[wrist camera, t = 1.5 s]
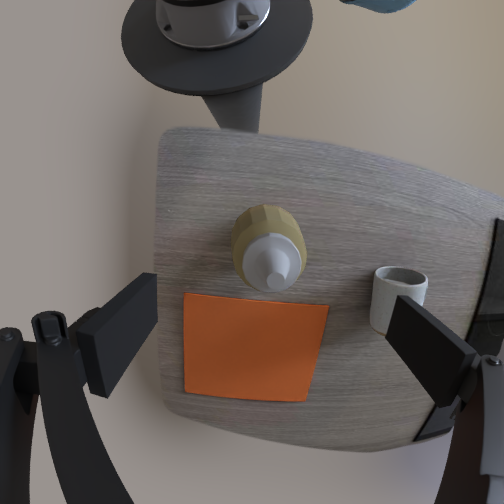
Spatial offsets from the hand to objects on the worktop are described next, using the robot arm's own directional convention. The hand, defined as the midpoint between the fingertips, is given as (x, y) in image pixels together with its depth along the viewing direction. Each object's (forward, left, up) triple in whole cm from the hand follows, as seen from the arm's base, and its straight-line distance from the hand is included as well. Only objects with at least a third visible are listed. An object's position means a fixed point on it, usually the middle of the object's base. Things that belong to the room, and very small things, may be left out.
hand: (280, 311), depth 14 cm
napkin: (+18, 0, -22) cm, 29 cm away
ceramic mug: (+6, +20, -22) cm, 31 cm away
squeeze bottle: (0, 0, -22) cm, 22 cm away
